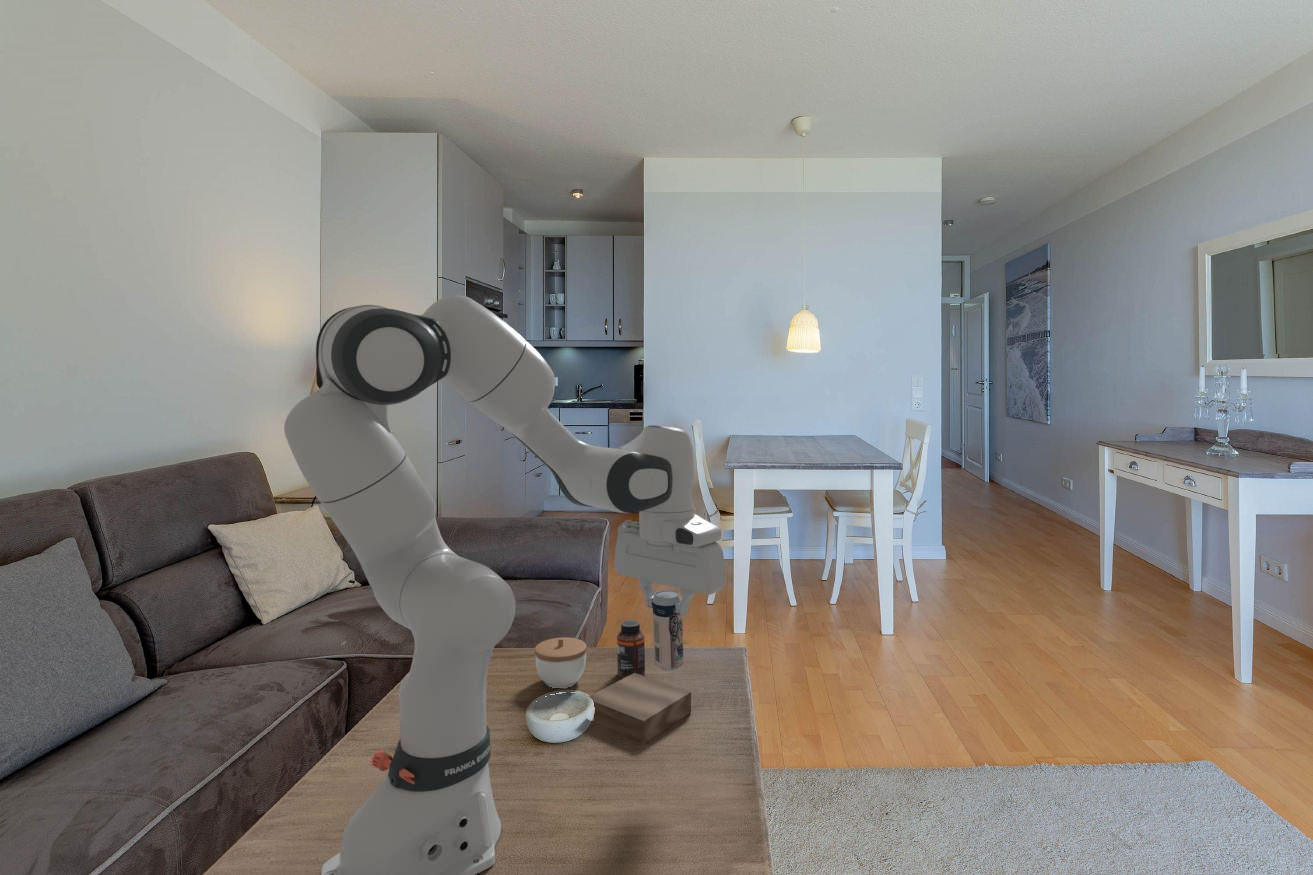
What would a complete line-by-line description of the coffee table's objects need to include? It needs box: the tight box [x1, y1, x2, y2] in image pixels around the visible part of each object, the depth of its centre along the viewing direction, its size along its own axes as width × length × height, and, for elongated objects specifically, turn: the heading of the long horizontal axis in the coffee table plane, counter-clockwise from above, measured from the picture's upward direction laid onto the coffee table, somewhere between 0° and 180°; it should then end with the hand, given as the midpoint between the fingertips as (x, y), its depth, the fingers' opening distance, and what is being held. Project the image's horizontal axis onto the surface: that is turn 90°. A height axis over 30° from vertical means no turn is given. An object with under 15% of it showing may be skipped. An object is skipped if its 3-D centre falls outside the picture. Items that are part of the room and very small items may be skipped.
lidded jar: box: [534, 637, 588, 690], centre depth 137 cm, size 11×11×9 cm
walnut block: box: [588, 673, 692, 744], centre depth 122 cm, size 14×14×4 cm
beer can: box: [652, 589, 685, 671], centre depth 106 cm, size 5×5×12 cm
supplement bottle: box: [616, 619, 646, 679], centre depth 140 cm, size 6×6×11 cm
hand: (666, 610), depth 106 cm, fingers closed on beer can, 5 cm apart
